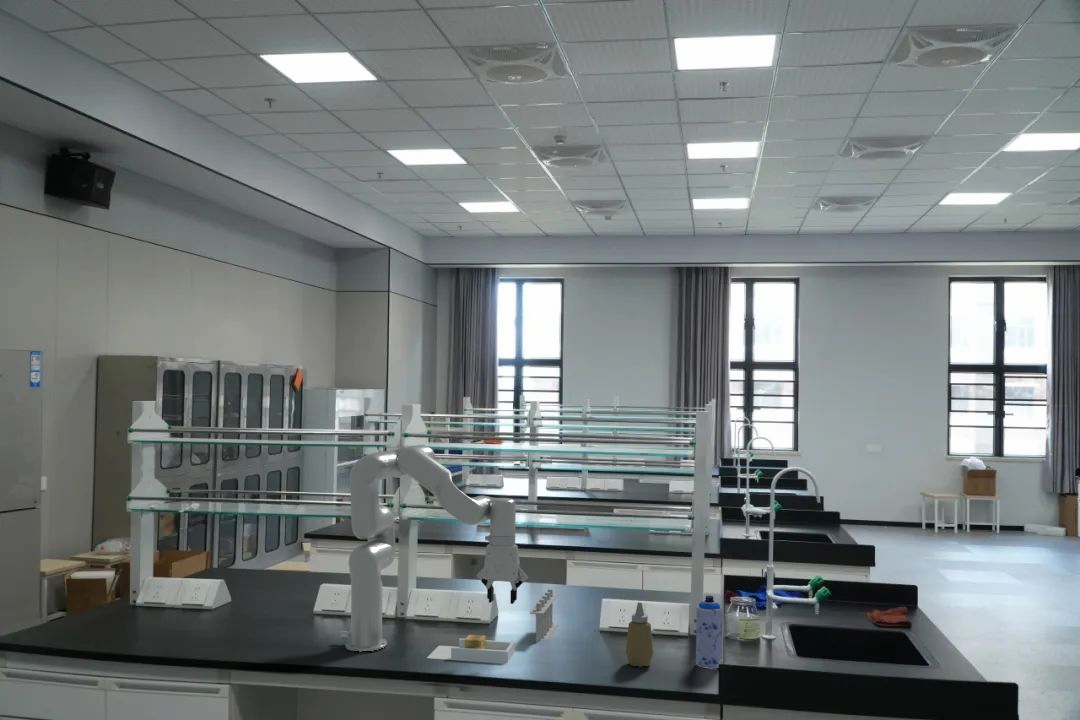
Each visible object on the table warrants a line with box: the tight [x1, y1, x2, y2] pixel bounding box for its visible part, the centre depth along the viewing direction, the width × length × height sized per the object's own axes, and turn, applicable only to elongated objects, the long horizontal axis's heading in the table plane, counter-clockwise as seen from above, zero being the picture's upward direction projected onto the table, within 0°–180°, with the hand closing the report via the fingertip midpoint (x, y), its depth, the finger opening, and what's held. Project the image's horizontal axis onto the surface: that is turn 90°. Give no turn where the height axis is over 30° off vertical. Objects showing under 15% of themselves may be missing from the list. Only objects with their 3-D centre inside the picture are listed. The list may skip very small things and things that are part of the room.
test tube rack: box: [529, 588, 559, 643], centre depth 283 cm, size 25×4×13 cm, turn 168°
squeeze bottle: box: [625, 601, 654, 668], centre depth 256 cm, size 8×8×18 cm
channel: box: [426, 637, 516, 665], centre depth 259 cm, size 24×12×4 cm, turn 79°
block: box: [464, 634, 487, 649], centre depth 259 cm, size 5×5×5 cm
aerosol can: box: [695, 595, 723, 668], centre depth 257 cm, size 8×8×20 cm
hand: (502, 601), depth 258 cm, fingers open, 5 cm apart
